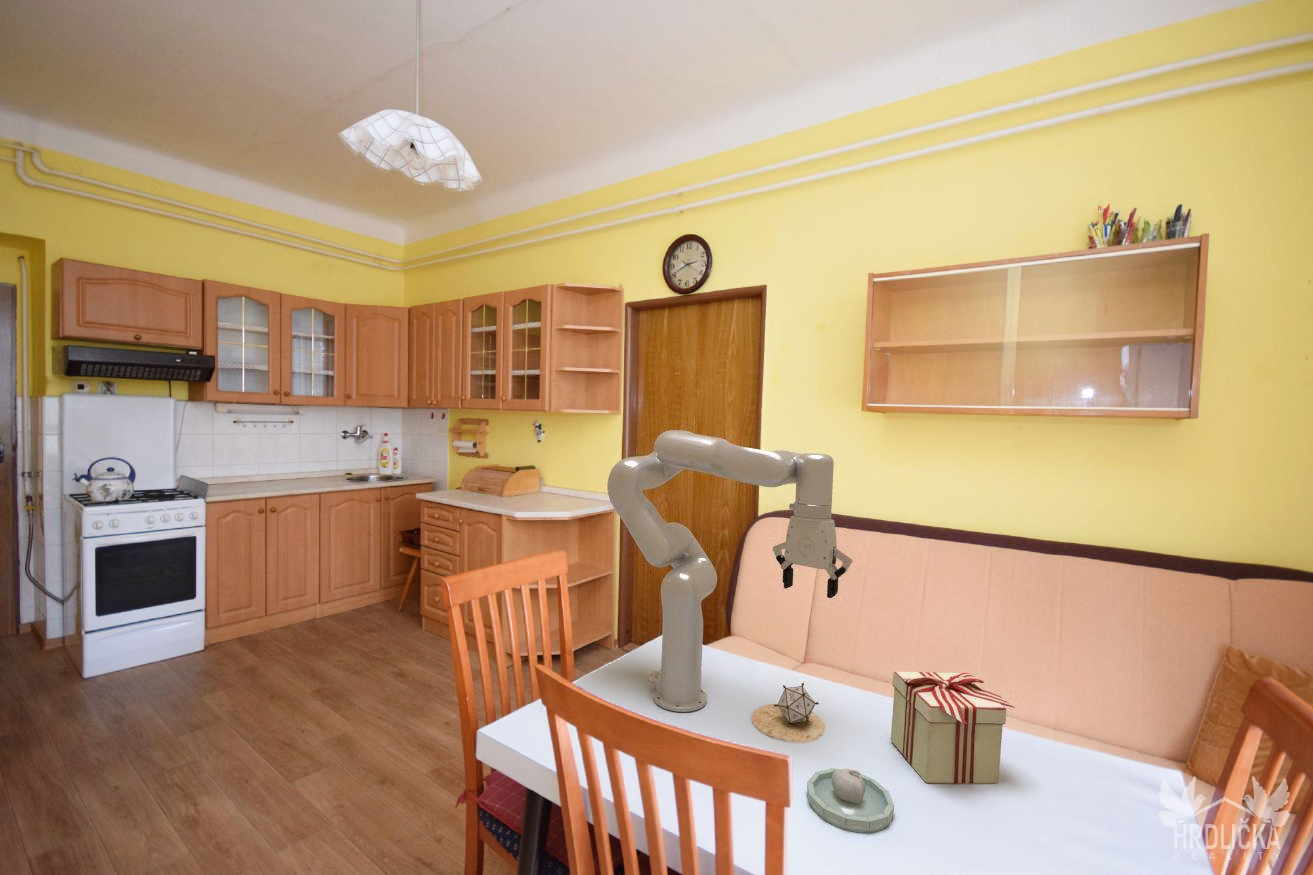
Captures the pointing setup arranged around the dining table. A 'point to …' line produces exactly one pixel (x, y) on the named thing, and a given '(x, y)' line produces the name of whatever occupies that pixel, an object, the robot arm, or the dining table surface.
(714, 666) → the dining table surface
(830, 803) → the plate
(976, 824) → the dining table surface
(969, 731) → the gift box
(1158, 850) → the dining table surface
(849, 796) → the garlic
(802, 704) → the game die
